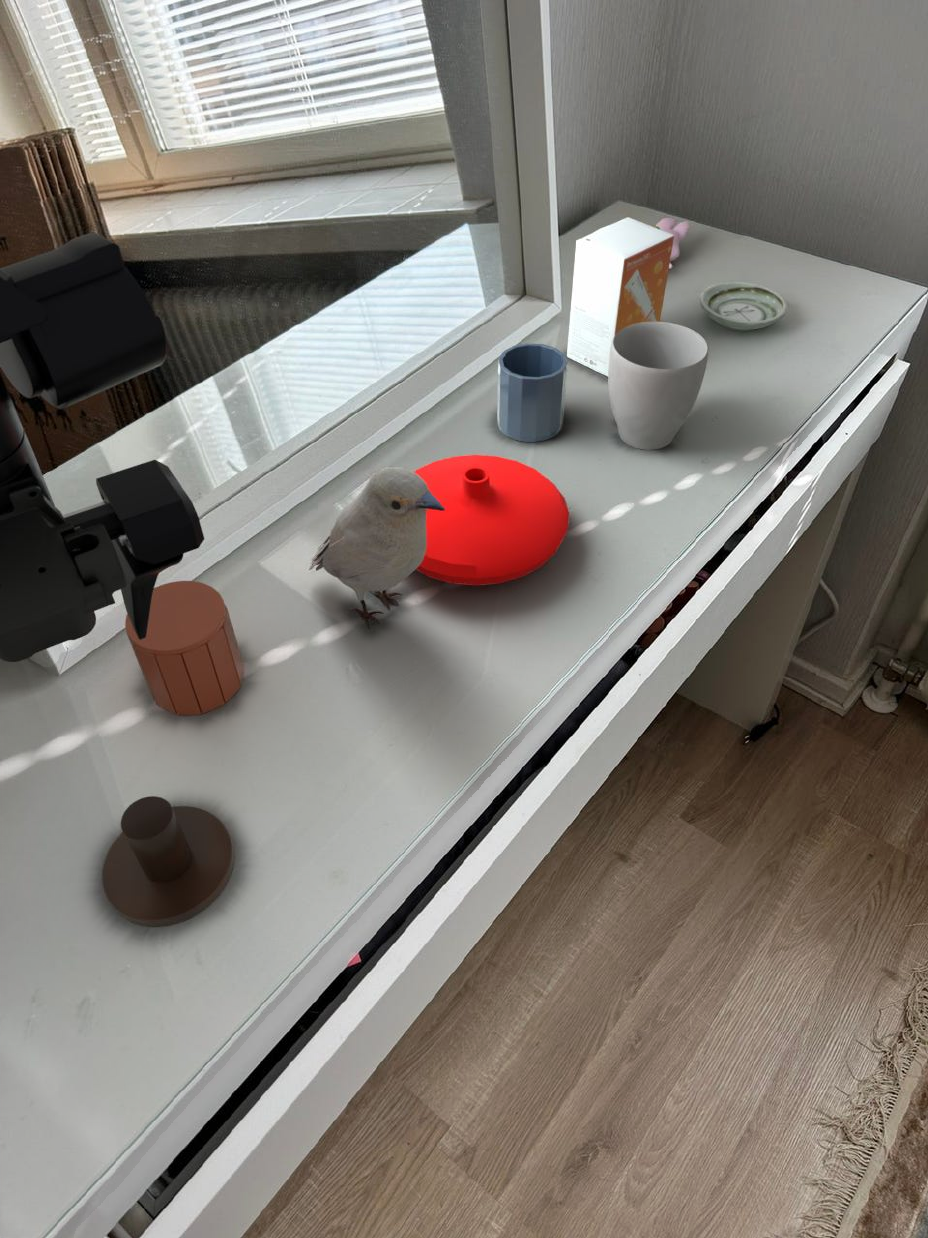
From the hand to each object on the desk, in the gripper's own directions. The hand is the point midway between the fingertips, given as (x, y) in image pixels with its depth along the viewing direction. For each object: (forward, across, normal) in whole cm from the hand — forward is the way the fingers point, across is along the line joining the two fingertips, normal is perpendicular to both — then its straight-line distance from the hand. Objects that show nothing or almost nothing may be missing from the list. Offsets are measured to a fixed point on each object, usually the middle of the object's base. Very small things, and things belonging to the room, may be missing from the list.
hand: (64, 664), depth 54 cm
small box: (+11, +63, +25) cm, 69 cm away
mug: (+11, +58, +12) cm, 60 cm away
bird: (+12, +23, +4) cm, 26 cm away
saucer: (+11, +80, +23) cm, 84 cm away
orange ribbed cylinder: (+12, +8, +6) cm, 15 cm away
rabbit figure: (+11, +81, +39) cm, 91 cm away
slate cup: (+11, +48, +19) cm, 53 cm away
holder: (+12, +1, -8) cm, 14 cm away
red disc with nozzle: (+11, +34, +8) cm, 36 cm away
